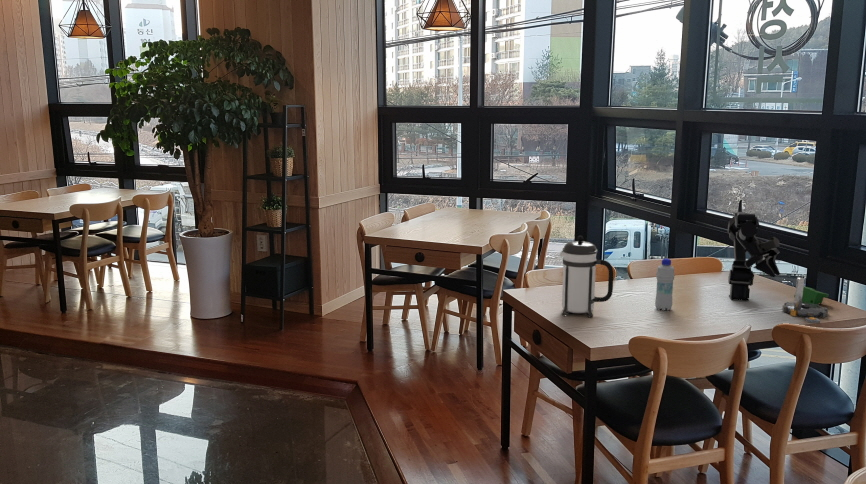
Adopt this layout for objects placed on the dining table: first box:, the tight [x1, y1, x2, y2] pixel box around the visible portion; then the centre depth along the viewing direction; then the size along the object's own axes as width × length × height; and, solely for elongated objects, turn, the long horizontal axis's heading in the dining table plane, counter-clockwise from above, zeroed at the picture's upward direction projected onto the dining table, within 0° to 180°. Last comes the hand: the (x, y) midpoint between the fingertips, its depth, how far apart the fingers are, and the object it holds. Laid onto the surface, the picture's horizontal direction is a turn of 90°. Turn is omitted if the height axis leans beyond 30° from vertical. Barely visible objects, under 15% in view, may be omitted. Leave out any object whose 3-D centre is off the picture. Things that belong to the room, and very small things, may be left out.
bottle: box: [654, 258, 676, 312], centre depth 273 cm, size 7×7×20 cm
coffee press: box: [558, 235, 614, 318], centre depth 269 cm, size 17×16×30 cm
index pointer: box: [804, 317, 821, 324], centre depth 259 cm, size 4×3×1 cm
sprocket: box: [781, 277, 829, 319], centre depth 268 cm, size 15×15×14 cm
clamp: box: [793, 285, 830, 305], centre depth 283 cm, size 12×6×9 cm, turn 6°
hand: (776, 275), depth 270 cm, fingers open, 4 cm apart
